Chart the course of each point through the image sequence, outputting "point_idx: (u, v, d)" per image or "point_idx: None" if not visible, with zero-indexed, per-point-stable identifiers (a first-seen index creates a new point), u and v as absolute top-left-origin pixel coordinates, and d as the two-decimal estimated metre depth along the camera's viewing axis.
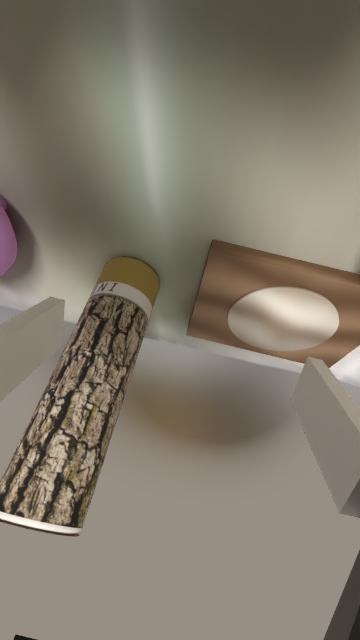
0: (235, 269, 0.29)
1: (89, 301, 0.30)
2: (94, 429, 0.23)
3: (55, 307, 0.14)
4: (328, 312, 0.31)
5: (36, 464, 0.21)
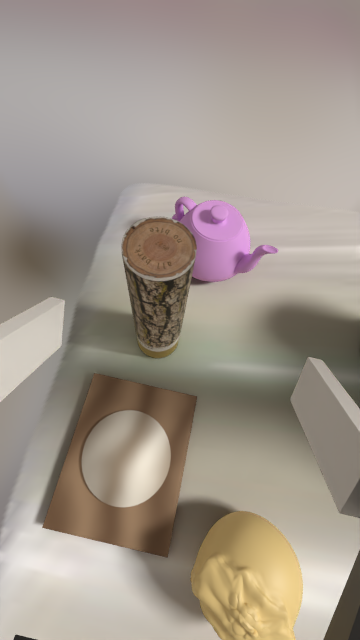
0: (182, 413, 0.44)
1: None
2: (176, 306, 0.32)
3: (55, 307, 0.14)
4: (148, 491, 0.39)
5: None
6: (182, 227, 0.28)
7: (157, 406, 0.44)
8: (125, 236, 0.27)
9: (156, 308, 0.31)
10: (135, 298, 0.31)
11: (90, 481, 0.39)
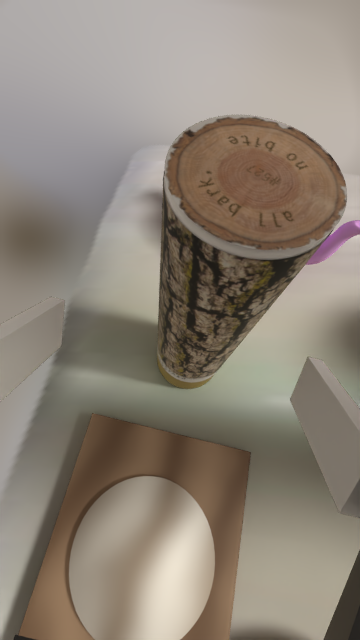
0: (229, 480, 0.28)
1: None
2: (257, 319, 0.16)
3: (55, 307, 0.14)
4: (180, 624, 0.23)
5: None
6: (301, 139, 0.12)
7: (190, 468, 0.28)
8: (173, 151, 0.11)
9: (222, 322, 0.15)
10: (179, 301, 0.15)
11: (83, 606, 0.23)
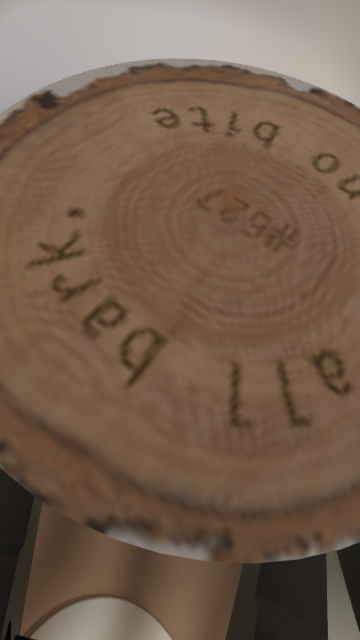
0: (215, 598, 0.20)
1: None
2: None
3: None
4: None
5: None
6: (346, 118, 0.05)
7: (162, 582, 0.21)
8: None
9: None
10: None
11: None
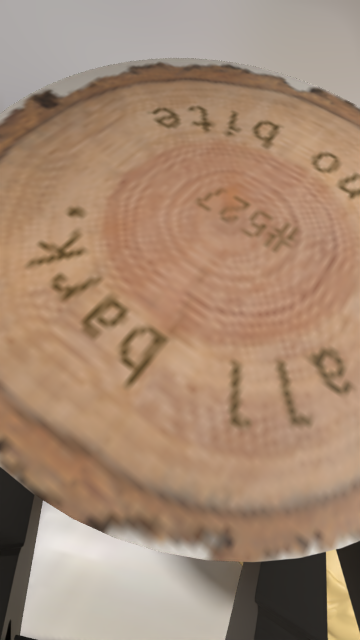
0: None
1: None
2: None
3: None
4: None
5: None
6: (347, 117, 0.05)
7: None
8: None
9: None
10: None
11: None
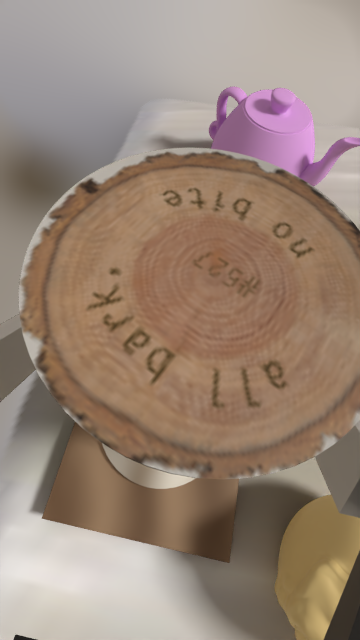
0: None
1: None
2: None
3: None
4: None
5: None
6: (300, 192, 0.07)
7: None
8: (48, 225, 0.06)
9: None
10: None
11: (112, 451, 0.27)
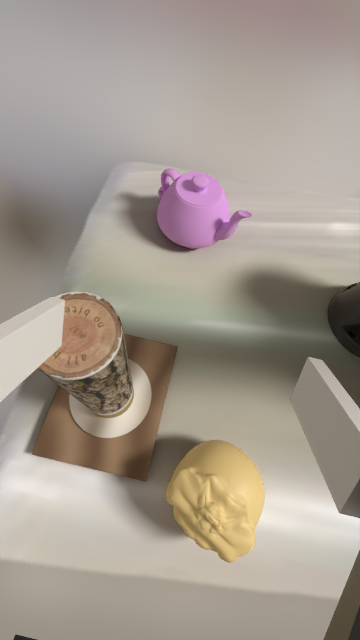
0: (163, 360, 0.48)
1: None
2: (108, 389, 0.27)
3: (55, 307, 0.14)
4: (130, 425, 0.43)
5: (124, 351, 0.25)
6: (106, 306, 0.23)
7: (140, 354, 0.48)
8: None
9: (81, 394, 0.25)
10: None
11: (77, 415, 0.42)
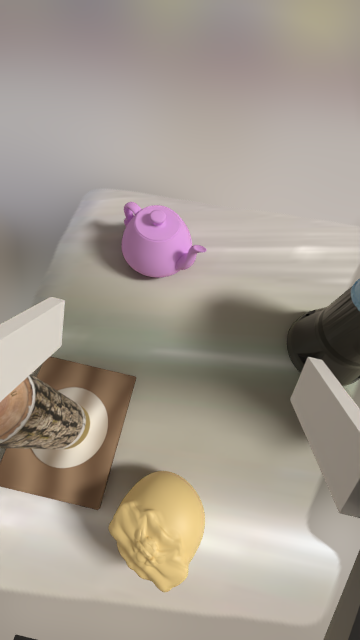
0: (121, 390, 0.50)
1: (78, 406, 0.42)
2: (37, 441, 0.29)
3: (55, 307, 0.14)
4: (85, 455, 0.45)
5: (46, 410, 0.27)
6: None
7: (99, 384, 0.50)
8: None
9: None
10: None
11: None
